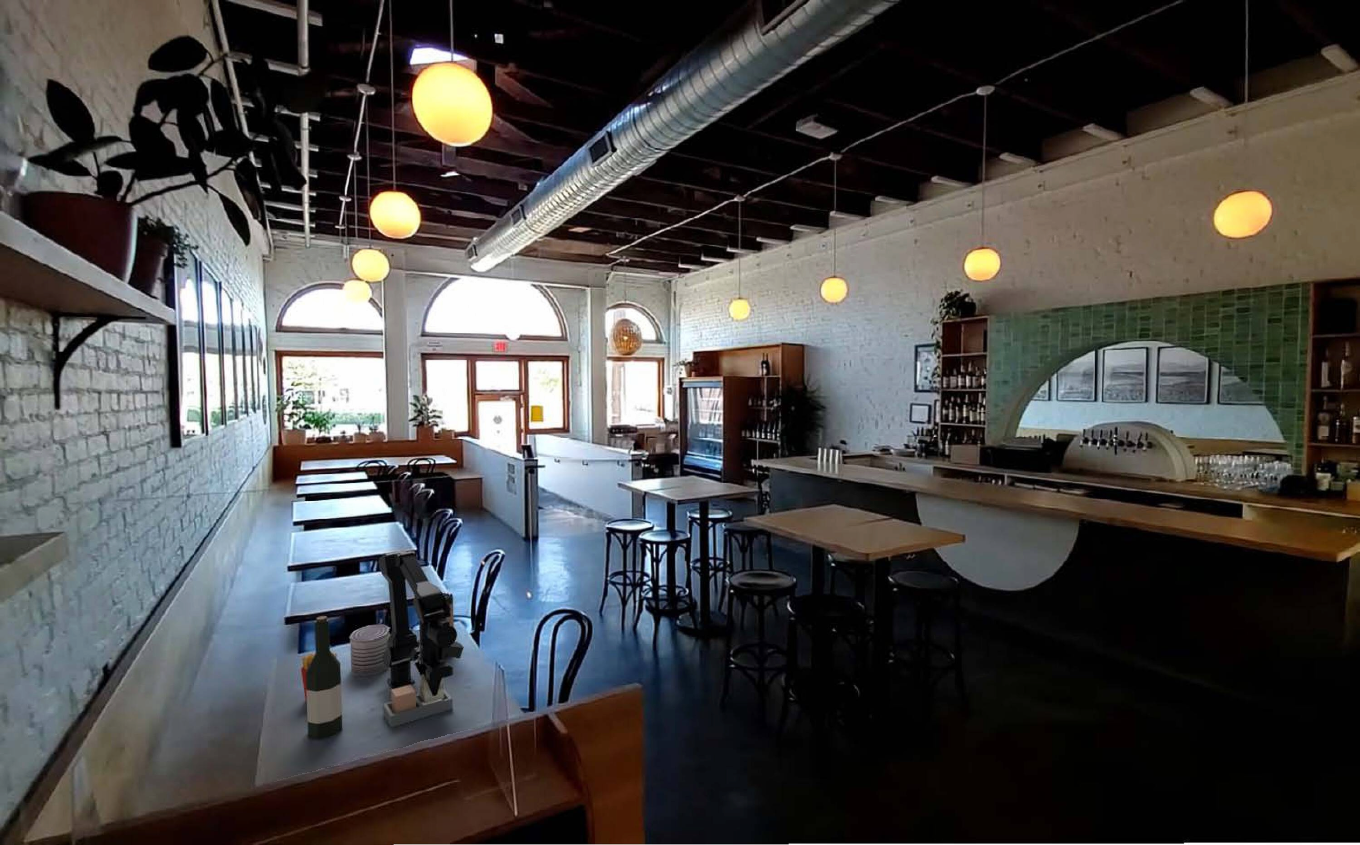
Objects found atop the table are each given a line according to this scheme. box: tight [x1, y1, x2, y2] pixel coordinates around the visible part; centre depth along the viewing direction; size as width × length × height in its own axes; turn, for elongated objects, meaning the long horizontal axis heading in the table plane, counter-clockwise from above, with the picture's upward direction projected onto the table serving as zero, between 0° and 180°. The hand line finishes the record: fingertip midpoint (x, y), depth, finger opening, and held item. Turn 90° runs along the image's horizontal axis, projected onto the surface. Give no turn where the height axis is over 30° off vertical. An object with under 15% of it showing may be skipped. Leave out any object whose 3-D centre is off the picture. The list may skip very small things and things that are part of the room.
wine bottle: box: [306, 615, 343, 740], centre depth 167 cm, size 8×8×30 cm
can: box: [348, 623, 391, 677], centre depth 205 cm, size 11×11×12 cm
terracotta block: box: [390, 684, 417, 714], centre depth 175 cm, size 5×5×6 cm
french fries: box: [300, 652, 338, 702], centre depth 185 cm, size 9×4×13 cm, turn 99°
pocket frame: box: [382, 688, 454, 728], centre depth 178 cm, size 8×16×3 cm, turn 127°
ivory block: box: [418, 674, 445, 703], centre depth 180 cm, size 5×5×6 cm
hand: (432, 692), depth 180 cm, fingers closed on ivory block, 5 cm apart
